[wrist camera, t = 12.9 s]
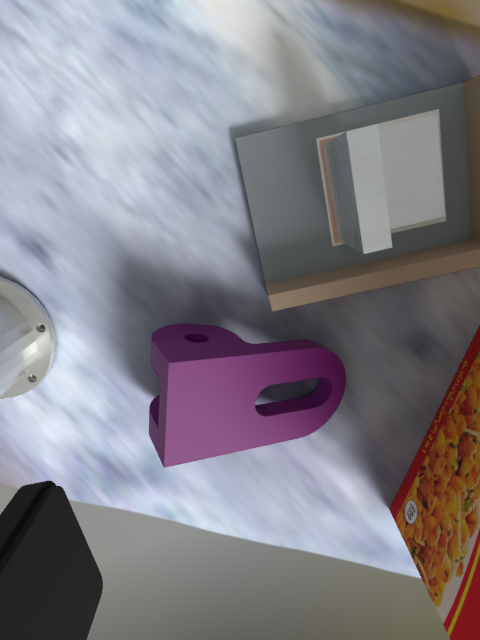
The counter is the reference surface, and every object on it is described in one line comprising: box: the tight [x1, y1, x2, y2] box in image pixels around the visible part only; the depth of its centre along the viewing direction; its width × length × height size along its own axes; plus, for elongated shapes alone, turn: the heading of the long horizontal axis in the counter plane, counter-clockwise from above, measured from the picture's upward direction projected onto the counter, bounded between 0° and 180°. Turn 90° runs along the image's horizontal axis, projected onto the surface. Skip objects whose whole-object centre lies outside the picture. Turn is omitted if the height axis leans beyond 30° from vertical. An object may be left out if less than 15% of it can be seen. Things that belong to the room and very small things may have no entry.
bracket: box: [322, 114, 445, 254], centre depth 31 cm, size 9×8×8 cm
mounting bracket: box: [149, 324, 346, 468], centre depth 39 cm, size 9×8×18 cm
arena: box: [235, 75, 480, 311], centre depth 33 cm, size 20×14×5 cm
